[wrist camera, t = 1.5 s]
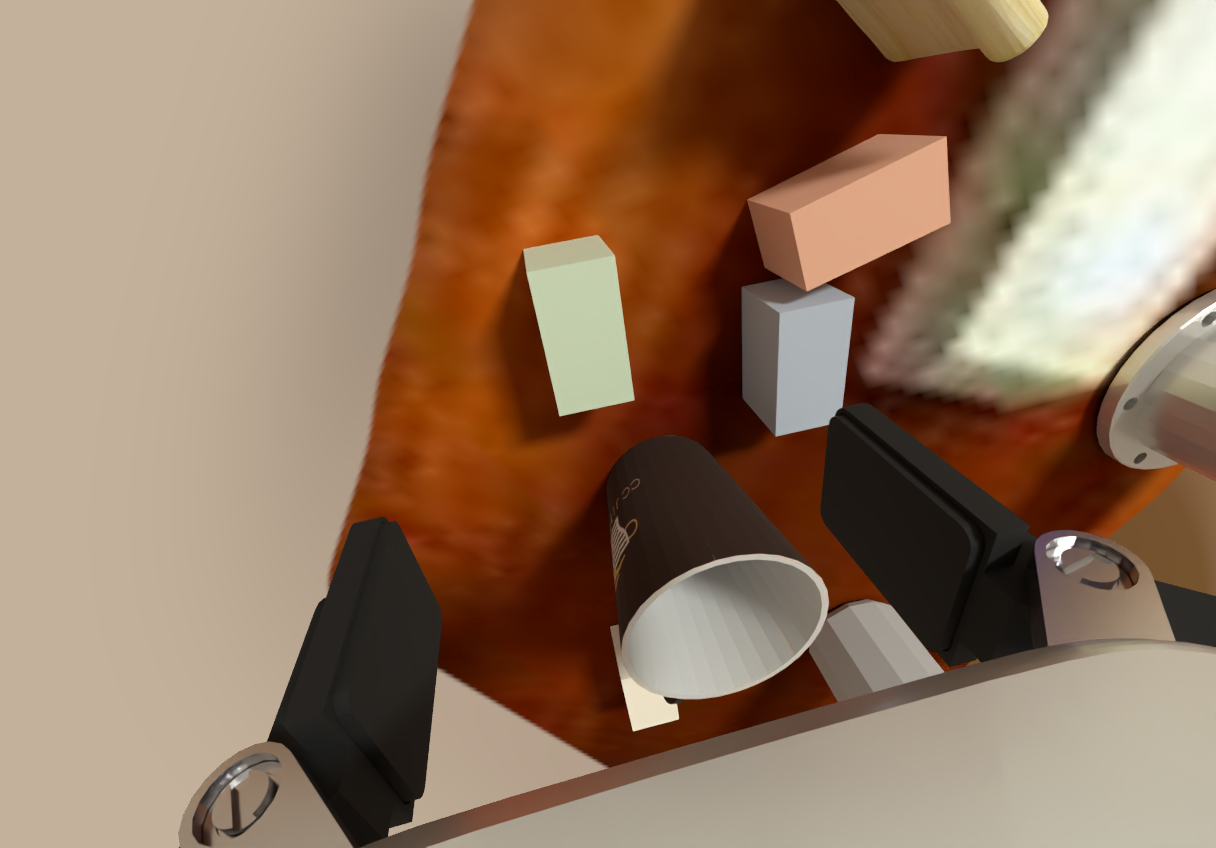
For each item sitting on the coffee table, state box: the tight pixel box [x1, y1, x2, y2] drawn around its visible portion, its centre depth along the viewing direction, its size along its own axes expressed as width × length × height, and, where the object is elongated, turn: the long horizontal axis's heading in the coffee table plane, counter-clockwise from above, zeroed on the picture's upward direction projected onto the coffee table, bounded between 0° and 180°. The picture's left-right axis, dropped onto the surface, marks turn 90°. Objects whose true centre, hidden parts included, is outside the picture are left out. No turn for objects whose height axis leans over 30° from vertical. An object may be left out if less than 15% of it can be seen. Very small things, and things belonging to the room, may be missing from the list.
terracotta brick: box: [747, 134, 950, 291], centre depth 21 cm, size 6×3×4 cm, turn 114°
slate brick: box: [742, 278, 855, 436], centre depth 24 cm, size 6×3×4 cm, turn 9°
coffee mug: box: [606, 436, 829, 704], centre depth 25 cm, size 12×9×10 cm
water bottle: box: [809, 599, 944, 702], centre depth 29 cm, size 9×8×25 cm
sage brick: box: [523, 235, 634, 416], centre depth 21 cm, size 6×3×4 cm, turn 9°
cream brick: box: [610, 625, 679, 731], centre depth 35 cm, size 6×3×4 cm, turn 9°
